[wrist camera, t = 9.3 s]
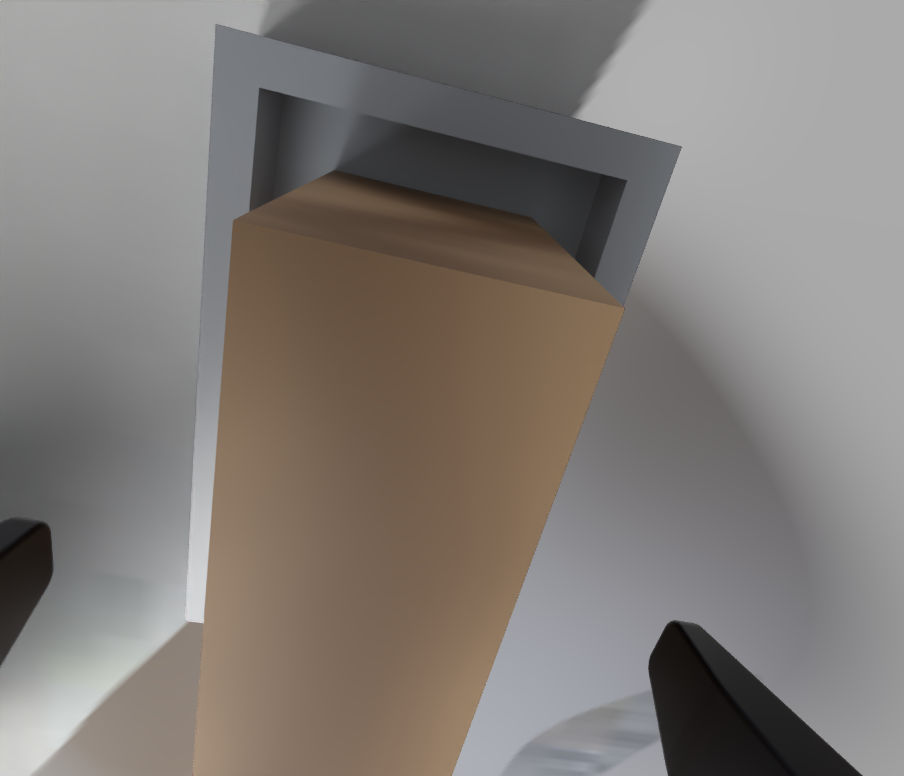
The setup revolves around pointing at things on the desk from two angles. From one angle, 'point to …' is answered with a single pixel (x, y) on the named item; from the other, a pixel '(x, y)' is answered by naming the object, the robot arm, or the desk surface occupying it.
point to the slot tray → (398, 183)
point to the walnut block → (381, 471)
